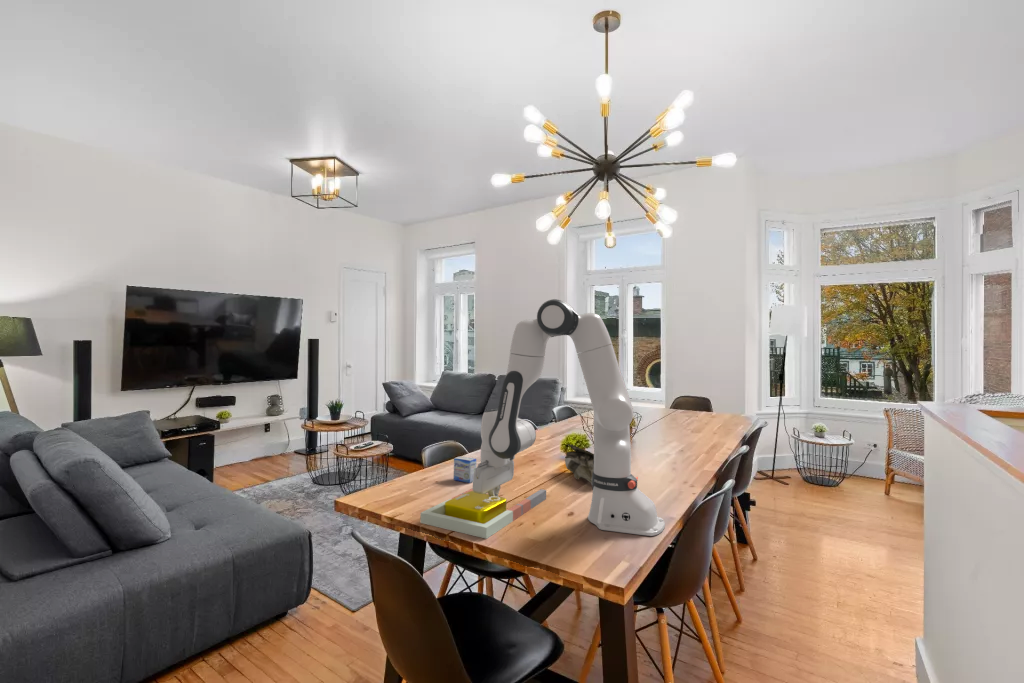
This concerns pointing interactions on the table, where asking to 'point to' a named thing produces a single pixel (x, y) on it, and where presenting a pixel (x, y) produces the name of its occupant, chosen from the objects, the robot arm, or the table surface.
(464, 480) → the medicine box
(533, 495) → the trap track
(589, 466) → the hollow geode rock
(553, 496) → the table surface
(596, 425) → the robot arm
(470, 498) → the element tile
